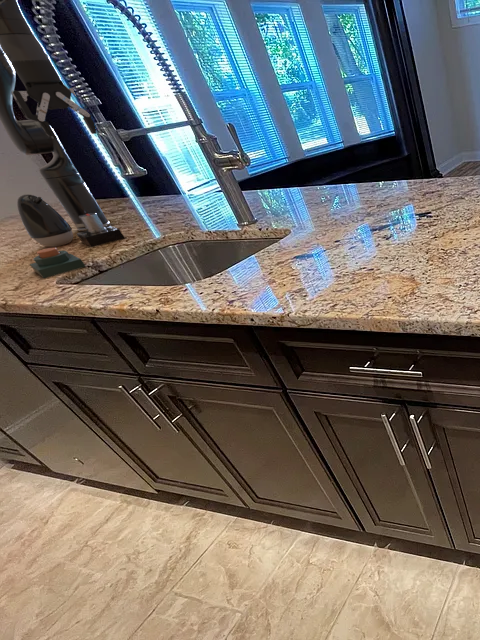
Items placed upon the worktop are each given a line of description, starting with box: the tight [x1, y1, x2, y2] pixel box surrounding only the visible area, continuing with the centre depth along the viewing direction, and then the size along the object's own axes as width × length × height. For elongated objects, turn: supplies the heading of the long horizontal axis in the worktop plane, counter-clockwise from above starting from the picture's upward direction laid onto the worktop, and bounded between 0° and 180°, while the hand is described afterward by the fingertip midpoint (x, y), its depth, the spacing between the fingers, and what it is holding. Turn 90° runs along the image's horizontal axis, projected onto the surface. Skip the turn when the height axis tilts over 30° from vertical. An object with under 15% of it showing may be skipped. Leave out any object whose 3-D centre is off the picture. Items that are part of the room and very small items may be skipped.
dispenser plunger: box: [36, 247, 60, 258], centre depth 113 cm, size 4×4×2 cm
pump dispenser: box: [16, 193, 74, 248], centre depth 133 cm, size 10×10×15 cm
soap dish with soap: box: [29, 250, 86, 279], centre depth 114 cm, size 10×9×4 cm
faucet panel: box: [76, 225, 125, 248], centre depth 136 cm, size 10×9×3 cm
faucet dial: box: [79, 213, 106, 233], centre depth 134 cm, size 4×4×5 cm
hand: (75, 136), depth 112 cm, fingers open, 8 cm apart
